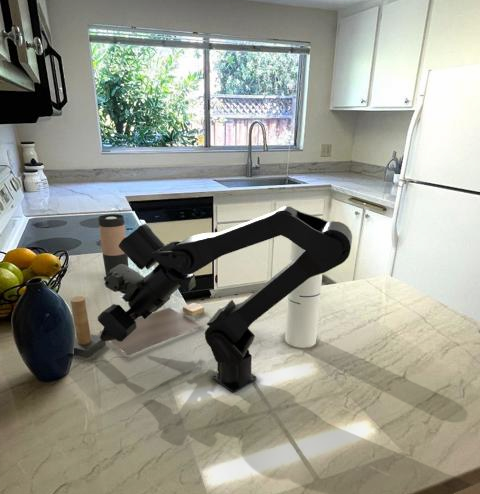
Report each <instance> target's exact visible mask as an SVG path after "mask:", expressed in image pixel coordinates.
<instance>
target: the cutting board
mask: <svg viewBox="0 0 480 494" xmlns="http://www.w3.org/2000/svg"><path fill="white" fill-rule="evenodd" d="M135 322H136V329H135V330H134V331H133V332H132V333H131V334H130V335H129V336H127V337H126V338H125V339H124V340H123V341H122V342H120V341H117V340H110V341H109V342H110V343H111V344H112V345H113V346H115V347H116V348H118V349H119V350H120V351H121V352H123V354H125V355H126V356H130V355H132V354H134V353H137V352H140V351H142V350H145V349H147V348H150V347H152V346H154V345H157V344H160V343H162V342H164V341H168V340H170V339H172V338H175V337H177V336H180V335H182V334H184V333H187V332H189V331H192V330H194V329H198V328H200V327H202V325H201V324H199V323H198V322H196V321H194V320H192V319H191V318H189V317H187V316H186V315H183V314H182V313H180V312H178V311H176V310H174V309H172V308H171V307H167V308H164V309H161V310H157V311H155V312H153V313H151V314H150V315H149V316H148V317H147V318H146V319H144V318H143V317H139V318H137V319H136V320H135ZM102 331H103V329H102V330H100V331H98V333H99V334H100V335H101V334H102Z"/></svg>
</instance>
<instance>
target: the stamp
mask: <svg viewBox="0 0 480 494" xmlns="http://www.w3.org/2000/svg"><path fill="white" fill-rule="evenodd" d="M70 305H71V312H72V318H73V324H74V329H75V337H74V338H75V348H74V355H73V356H77V357H81V358H85V359H89V358H90V357H91V356H93V355H94V354H96V353H97V352H98V351H99V350H101V349H102V348H103V347H105V346H107V345H106V341H102V340H101V339H100V336H101V335H95V334H92V333H91V329H90V323H89V321H90V320H89V315H88V310H87V303H86V297H84V296H80V295H79V296H73V297H72V298H70Z"/></svg>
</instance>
